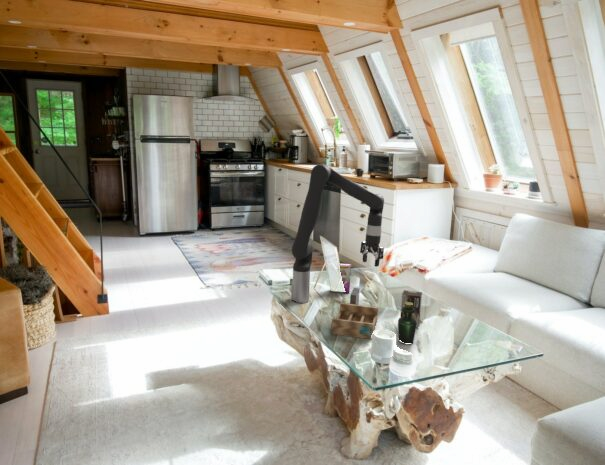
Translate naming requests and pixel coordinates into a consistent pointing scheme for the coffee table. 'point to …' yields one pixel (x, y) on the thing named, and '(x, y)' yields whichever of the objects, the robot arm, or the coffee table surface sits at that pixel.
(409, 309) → the potion bottle
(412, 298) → the coffee box
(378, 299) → the coffee table surface
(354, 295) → the panel
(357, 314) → the rack
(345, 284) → the candy bar box
